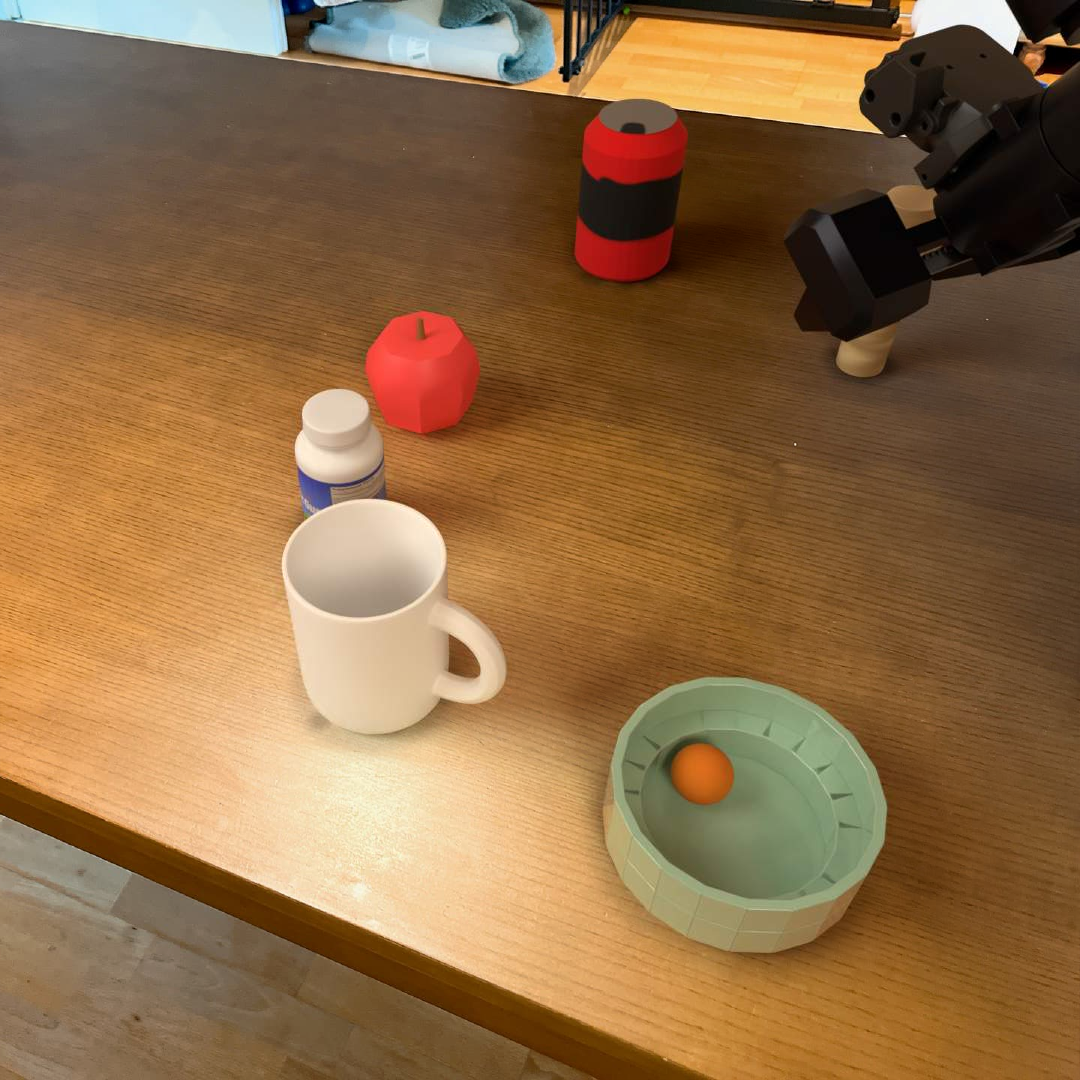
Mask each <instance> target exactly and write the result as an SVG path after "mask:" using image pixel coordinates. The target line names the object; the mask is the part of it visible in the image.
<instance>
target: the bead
mask: <svg viewBox="0 0 1080 1080" xmlns="http://www.w3.org/2000/svg"><path fill="white" fill-rule="evenodd" d="M671 779H672V783H673V785H674V787H675V789H676V790H677V792H678V793H679V794H680V795H681V796H682V797H683V798H684V799H686V800H687V801H689V802H691V803H694V804H698V805H711V804H715V803H717V802H719V801H721V800H722V799H724V798H725V797H726V796H727V795H728V794H729V792H730V791H731V788H732V786H733V783H734V770H733V766H732V763H731V761H730V760H729V758H728V757H727V755H726V754H725V753H724V752H723V751H721V750H720V749H718V748H717V747H715V746H713V745H710V744H704V743H696V744H691V745H689V746H686V747H685V748H683V749H682V750H680V751H679V752H678V754H677V755H676V756H675V758H674V760H673V762H672V765H671Z"/></svg>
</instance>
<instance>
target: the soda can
mask: <svg viewBox="0 0 1080 1080" xmlns="http://www.w3.org/2000/svg"><path fill="white" fill-rule="evenodd" d="M688 141H689V132H688V130H687V128H686V126H685V125H684V124H683V122H682V120H681V118H680V117H679V115H678V113H677V111H676V110H675V109H674V107H672V106H670V105H669V104H666V103H665V102H661V101H659V100H655V99H648V98H625V99H621V100H617V101H614V102H611V103H609V104H607V105H605V106H603V108H601V110H600V111H599V112H598V114H597V115H596V116H595V117H594V118H593V119H592V121H590V122H589V123H588V124H587V126H586V128H585V130H584V134H583V147H582V157H581V158H582V159H581V169H580V171H581V172H580V182H579V183H580V184H579V196H578V207H577V218H576V219H577V220H576V232H575V244H574V257H575V261H576V262H577V263H578V265H579V266H580V267H581V268H582V269H583V270H584V271H585V272H587V273H588V274H590V275H591V276H593V277H596V278H597V279H601V280H604V281H608V282H616V283H630V282H638V281H642V280H645V279H649V278H650V277H653V276H654V275H656V274H657V273H658V272H660V271H661V270H663V268H665V266H666V265H667V264H668V263H669V261H670V255H671V249H672V242H673V238H674V237H673V236H674V230H675V224H676V216H677V211H678V205H679V203H678V202H679V199H680V191H681V185H682V178H683V172H684V167H685V158H686V152H687V146H688Z"/></svg>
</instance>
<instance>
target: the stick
mask: <svg viewBox="0 0 1080 1080" xmlns="http://www.w3.org/2000/svg"><path fill="white" fill-rule="evenodd" d="M886 194H888V196H889V198H890V199H891V201H892V203H893V205H894V207H895V209H896V211H897V213H898V214H899V216H900V218H901V220H902V222H903V224H904V226H905V227H906V229H908V228H911V227H913V226H916V225H919V224H921V223H924V222H927V221H930V220H932V219H935V218H936V216H935V213H934V208H933V198H934V196H936V195H937V193H936V192H935V190H934V189H933V188H931V189H929V190H926V189H925V188H924V187H923V185H917V184H902V185H898V186H894V187H891V189H890V190H888V192H887V193H886ZM924 254H925V252H923V253H921V254H920V255H921V256H923V255H924ZM900 323H901V320H900V321H899V322H897V323H894V324H892V325H890V326H887V327H885V328H882V329H880V330H877V331H874V332H872V333H869V334H867V335H864V336H862V337H859V338H857V339H854V340H852V341H849V342H844V341H842V340H840V341H841V342H840V343H839V344H840V345H839V348H838V351H837V354H836V358H835V364H836V366H837V367H838V369H839V370H840V371H842V372H843V373H845V374H847V375H850V376H853V377H857V378H872V377H876V376H878V375H879V374H881V373H882V371H883V370H884V368H885V365H886V363H887V360H888V357H889V354H890V351H891V348H892V345H893V343H894V339H895V337H896V334H897V331H898V328H899V326H900Z"/></svg>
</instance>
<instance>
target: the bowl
mask: <svg viewBox="0 0 1080 1080" xmlns="http://www.w3.org/2000/svg"><path fill="white" fill-rule="evenodd" d="M696 743H704V744H710V745H713V746H715V747H717V748H718V749H720V750H721V751H723V752H724V753H725V754H726V755H727V757H728V758H729V760H730V761H731V763H732V766H733V770H734V783H733V786H732V788H731V791H730V792H729V794H728V795H727V796H726V797H725V798H724V799H722V800H721V801H719V802H717V803H715V804H711V805H698V804H694V803H691V802H689V801H687V800H686V799H684V798H683V797H682V796H681V795H680V794H679V793H678V792H677V790H676V789H675V787H674V785H673V783H672V779H671V765H672V762H673V760H674V758H675V756H676V755H677V754H678V752H679V751H680V750H682V749H683V748H685V747H686V746H689V745H691V744H696ZM887 817H888V804H887V799H886V796H885V793H884V790H883V786H882V782H881V780H880V777H879V773H878V770H877V768H876V766H875V764H874V763H873V761H872V760H871V759H870V757H869V756H868V754H867V753H866V751H865V750H864V748H863V747H862V745H861V744H860V742H859V741H858V740H857V738H856V736H855V735H854V734H853V733H852V732H851V731H850V730H849V729H847V728H846V727H845V726H844V725H843V724H841V722H840V721H838V720H837V719H836V718H835V717H834V716H832V715H831V714H830V713H829V712H828V711H826V709H824V707H821V706H820V705H818V704H816V703H814V702H813V701H810V700H808V699H807V698H804V697H803V696H801V695H799V694H797V693H795V692H793V691H791V690H789V689H787V688H786V687H782V686H779V685H775V684H771V683H767V682H763V681H759V680H755V679H751V678H748V677H740V676H739V677H737V676H736V677H735V676H732V677H728V676H727V677H725V676H723V677H722V676H704V677H699V678H696V679H692V680H687V681H684V682H680V683H676V684H672V685H669V686H668V687H666V688H665V689H663V690H661V691H660V692H659V693H657V694H655V695H653V696H652V697H650V698H649V699H647V700H645V701H644V702H642V703H640V705H638V707H637V708H636V709H635V710H634V711H633V713H632V714H631V716H630V717H629V718H628V720H627V721H626V722H625V724H624V725H623V726H622V728H620V730H619V732H618V736H617V740H616V743H615V746H614V751H613V753H612V758H611V762H610V766H609V772H608V778H607V783H606V789H605V794H604V799H603V805H602V820H603V821H602V822H603V829H604V830H603V831H604V841H605V845H606V846H605V847H606V849H607V851H608V854H609V855H610V858H611V860H612V863H613V865H614V867H615V869H616V872H617V873H618V876H619V878H620V880H621V882H622V883H623V884H624V885H625V887H626V888H627V889H628V890H629V891H630V892H631V894H632V895H633V896H634V898H636V900H637V901H639V903H640V904H641V905H642V906H643V907H644V909H645V910H646V911H647V912H648V913H649V914H650V915H652V916H654V917H655V918H657V919H658V920H660V921H661V922H663V923H664V924H666V925H667V926H668V927H670V928H672V929H673V930H675V932H677V933H679V934H680V935H682V936H684V937H685V938H687V939H689V940H693V941H696V942H699V943H702V944H705V945H708V946H711V947H714V948H716V949H719V950H722V951H726V952H732V953H733V952H735V953H758V954H759V953H760V954H765V953H766V954H774V953H775V954H776V953H778V952H782V951H784V950H788V949H791V948H795V947H798V946H801V945H805V944H808V943H811V942H813V941H814V940H816V939H817V938H819V937H820V936H821V935H823V933H825V932H826V931H827V930H829V929H830V928H831V927H833V926H834V925H835V924H837V923H838V922H839V921H840V920H841V919H842V918H843V916H844V914H845V913H846V911H847V910H848V908H849V906H850V904H851V903H852V902H853V900H854V898H855V896H856V895H857V893H858V892H859V890H860V888H861V886H862V884H863V882H864V881H865V880H866V878H867V876H868V875H869V873H870V871H871V869H872V867H873V865H874V863H875V862H876V860H877V858H878V856H879V854H880V852H881V851H882V849H883V847H884V845H885V841H886V832H887V831H886V830H887Z"/></svg>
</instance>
